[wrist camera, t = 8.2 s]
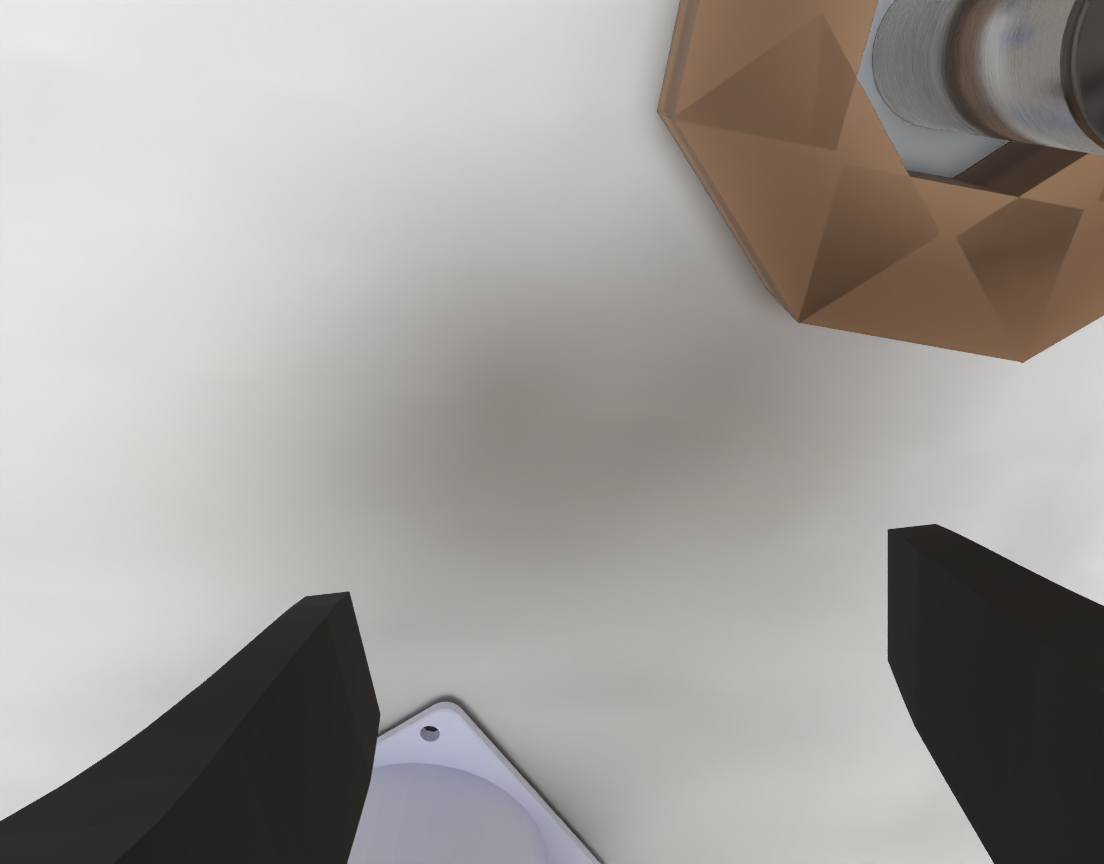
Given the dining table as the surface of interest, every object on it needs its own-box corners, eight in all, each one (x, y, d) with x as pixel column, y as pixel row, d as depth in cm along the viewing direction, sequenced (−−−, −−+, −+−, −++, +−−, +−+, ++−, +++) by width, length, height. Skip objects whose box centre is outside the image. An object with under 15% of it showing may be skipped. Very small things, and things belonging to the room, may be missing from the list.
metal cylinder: (915, 157, 19) (1137, 212, 12) (845, 32, 18) (1040, 7, 11) (1046, 68, 19) (1369, 67, 11) (981, -66, 18) (1286, -164, 10)
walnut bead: (834, 399, 21) (875, 449, 19) (569, -30, 18) (570, -49, 15) (1304, 115, 19) (1432, 124, 16) (1097, -441, 16) (1213, -552, 13)
